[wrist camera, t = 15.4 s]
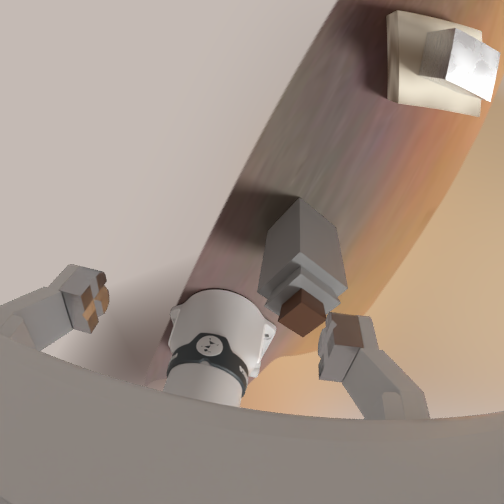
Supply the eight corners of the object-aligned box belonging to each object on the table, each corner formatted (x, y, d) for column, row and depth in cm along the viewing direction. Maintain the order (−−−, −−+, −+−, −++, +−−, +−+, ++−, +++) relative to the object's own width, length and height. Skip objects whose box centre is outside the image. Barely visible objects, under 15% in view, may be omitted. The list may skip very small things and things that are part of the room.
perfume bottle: (299, 197, 42) (300, 280, 27) (335, 227, 44) (352, 318, 29) (267, 230, 46) (251, 321, 31) (303, 257, 47) (303, 353, 32)
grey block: (458, 93, 28) (490, 101, 22) (418, 75, 28) (445, 79, 22) (467, 51, 25) (500, 53, 19) (427, 32, 25) (455, 27, 19)
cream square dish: (461, 110, 33) (479, 117, 28) (386, 98, 34) (398, 103, 30) (462, 32, 27) (481, 31, 23) (385, 16, 28) (397, 10, 24)
